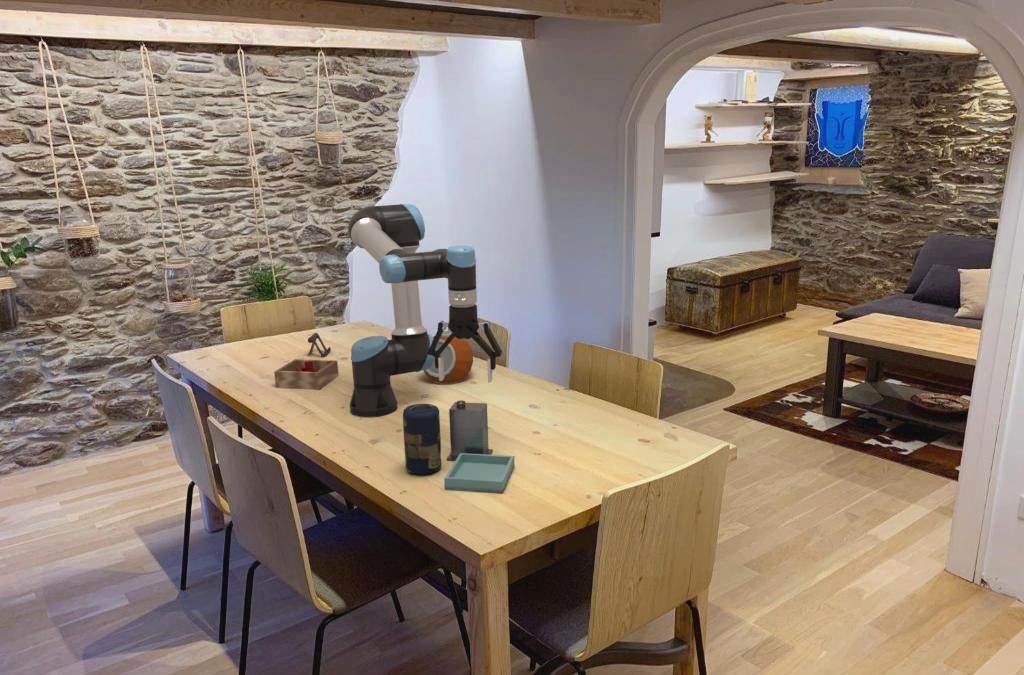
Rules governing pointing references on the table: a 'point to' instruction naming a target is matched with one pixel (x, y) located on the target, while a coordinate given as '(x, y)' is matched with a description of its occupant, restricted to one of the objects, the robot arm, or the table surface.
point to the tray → (480, 473)
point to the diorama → (307, 367)
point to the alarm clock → (452, 360)
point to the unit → (468, 429)
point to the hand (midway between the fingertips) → (465, 380)
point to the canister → (422, 438)
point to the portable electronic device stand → (313, 341)
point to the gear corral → (306, 374)
